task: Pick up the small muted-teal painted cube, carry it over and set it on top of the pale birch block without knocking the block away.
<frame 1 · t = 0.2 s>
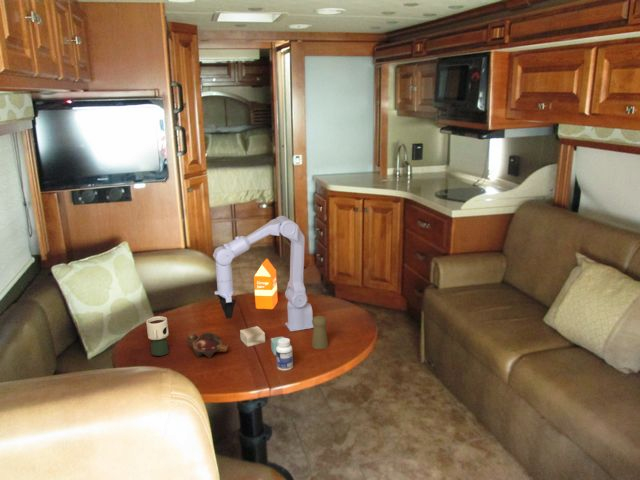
hand: (227, 314, 196), 10 cm above the table, fingers open, 7 cm apart
pill bottle: (285, 367, 177), on the table
orange juice: (267, 305, 231), on the table
birch block: (252, 341, 197), on the table
cork: (320, 345, 192), on the table
character mug: (160, 354, 189), on the table
decorative turtle: (208, 355, 187), on the table
teal cube: (279, 351, 188), on the table
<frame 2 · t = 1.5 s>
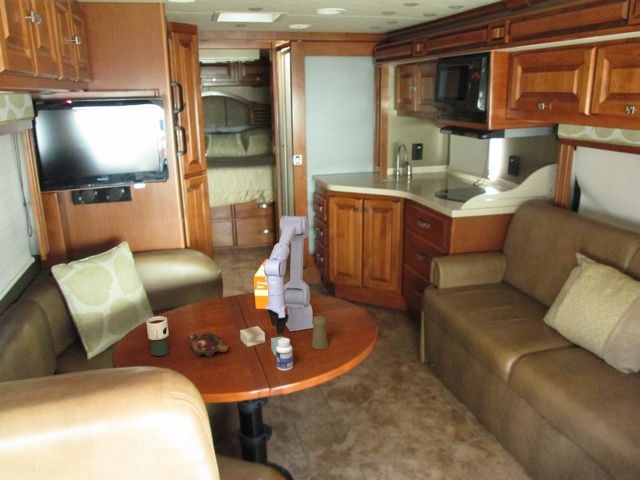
hand: (277, 329, 186), 8 cm above the table, fingers open, 7 cm apart
nothing on the table moved.
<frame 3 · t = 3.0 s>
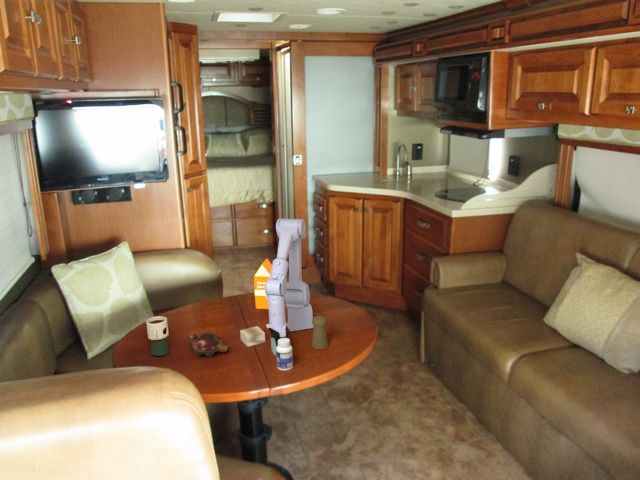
hand: (278, 347, 188), 1 cm above the table, fingers closed on teal cube, 4 cm apart
teal cube: (279, 351, 188), on the table, touching gripper
everything else where it was.
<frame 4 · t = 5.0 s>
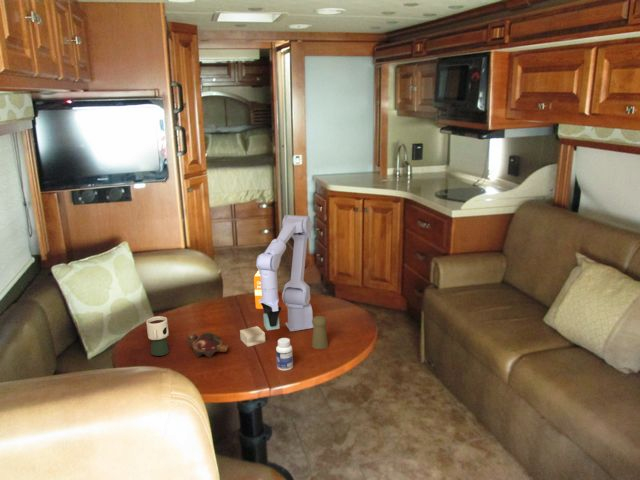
hand: (271, 323, 187), 10 cm above the table, fingers closed on teal cube, 4 cm apart
teal cube: (271, 327, 188), point 8 cm above the table, touching gripper
everything else where it was.
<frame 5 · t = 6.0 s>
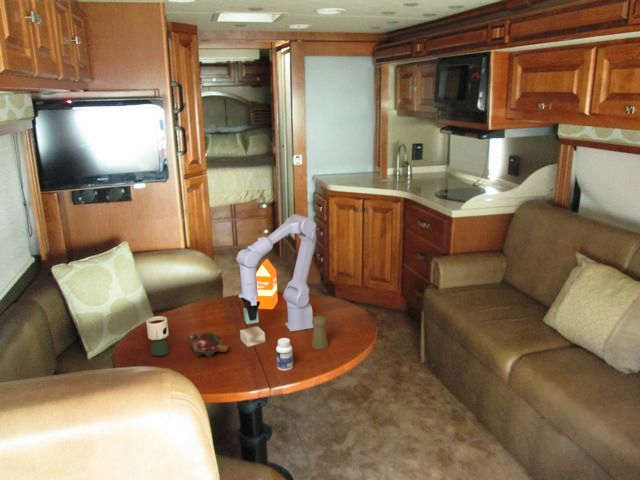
hand: (251, 317, 194), 9 cm above the table, fingers closed on teal cube, 4 cm apart
teal cube: (251, 320, 195), point 8 cm above the table, touching gripper
everything else where it was.
when the fingers open (7 cm above the table, at t = 7.0 s): teal cube drops 1 cm, resting on birch block.
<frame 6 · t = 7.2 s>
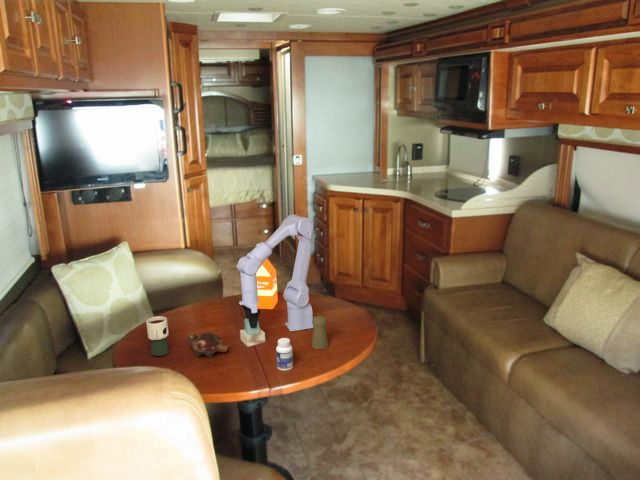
hand: (251, 324, 195), 7 cm above the table, fingers open, 6 cm apart
birch block: (252, 341, 197), on the table, touching teal cube
teal cube: (252, 331, 196), point 4 cm above the table, touching birch block
everything else where it was.
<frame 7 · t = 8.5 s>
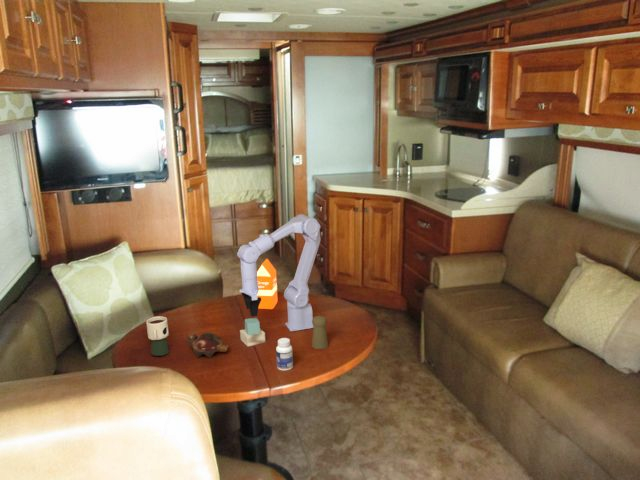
hand: (251, 312, 197), 10 cm above the table, fingers open, 7 cm apart
nothing on the table moved.
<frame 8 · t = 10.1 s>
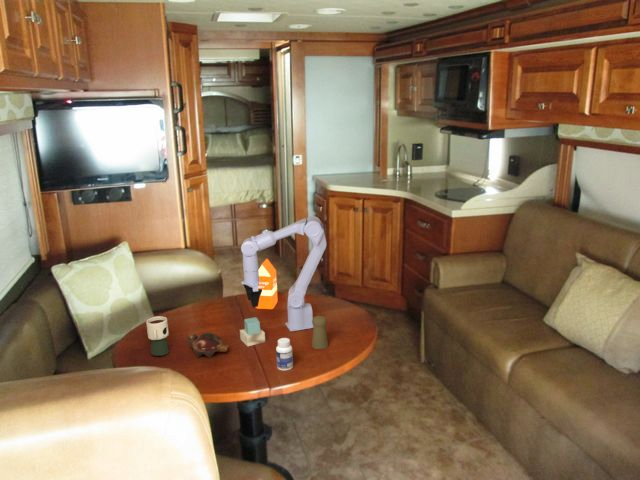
hand: (253, 303, 205), 10 cm above the table, fingers open, 7 cm apart
nothing on the table moved.
at the end: teal cube 0.4 cm off-centre on the birch block, point 4.0 cm above the birch block's base; teal cube tilted 0°; birch block moved 0.4 cm from its start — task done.
